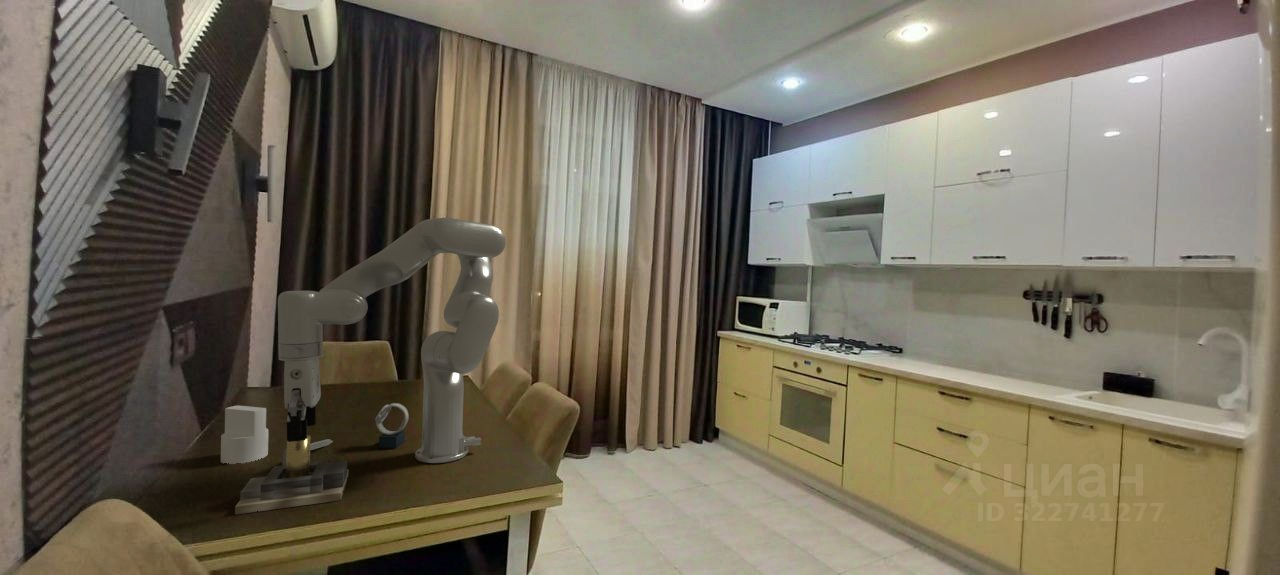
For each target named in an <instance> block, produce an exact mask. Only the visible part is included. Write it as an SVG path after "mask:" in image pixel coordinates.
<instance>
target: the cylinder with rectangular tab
mask: <svg viewBox="0 0 1280 575" xmlns="http://www.w3.org/2000/svg"><path fill="white" fill-rule="evenodd" d="M268 454H269V429H268V428H267V407H256V406H247V405H233V406H229V407H225V409H224V433H222V434H221V435H220V463H222V464H224V463H227V464H226V465H237V464H236V463H241V464H245V463H246V462H247V463H251V461H252V462H255V460H256V461H258V459H259V460H262V459H264V458H266V457H267V456H268ZM261 458H262V459H261ZM228 463H229V464H228ZM247 463H246V464H247Z"/></svg>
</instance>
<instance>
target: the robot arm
mask: <svg viewBox="0 0 1280 575" xmlns="http://www.w3.org/2000/svg"><path fill="white" fill-rule="evenodd" d="M506 240H507V239H506V236H505V233H504V232H503V231H502V230H501V229H500V227H497V226H496V225H493V224H489V223H483V222H476V221H471V220H465V219H460V218H454V217H453V218H451V217H437V218H429V219H428V218H427V219H424V220H423V221H420V222H418V223H417V224H416V225H414V226H413V227H412V228H410V229H409V230H407V231H406V232H405V233H404V234H402V235H401V236H400V237H398V238H397V239H396V240H394V241H393V242H392V243H390V244H389V245H388V246H386V247H384V248H383V249H381V250H380V251H379V252H377V253H376V254H373V255H372V256H370V257H368V258H367V259H365V260H363V261H361V262H360V263H358V264H356V265H355V266H352V267H351V268H350V269H348V270H346V271H345V272H343V273H342V274H340V275H339V276H337V278H335V279H333V280H332V281H331V282H329V283H328V284H327V285H325V286H324V287H323V288H321V289H320V290H319V291H315V290H287V291H286V290H285V291H283V292H281V293H280V294H279V295H278V297H277V321H278V322H277V323H278V324H277V326H278V327H277V333H278V336H277V338H278V341H277V342H278V349H277V350H278V360H279V361H283V362H284V371H283V372H284V374H283V378H284V379H283V383H284V384H283V390H284V391H283V392H284V393H283V396H284V398H283V399H284V401H283V402H284V409H286V410H288V411H287V416H286V417H287V418H286V442H287V441H288V442H292V441H301V440H306V438H307V435H308V428H307V427H312V426H315V425H316V423H317V419H316V418H317V414H316V410H317V409H316V405H317V404H318V402H319V401H320V399H321V396H322V391H321V390H322V389H321V387H322V386H321V373H320V370H321V369H320V360H319V359H320V358H323V356H324V346H323V345H324V339H323V338H324V337H323V334H324V332H323V331H324V330H323V329H324V328H323V327H324V326H323V325H326V324H327V325H345V326H346V325H351V324H356V323H357V322H359V321H361V320H362V319H363V318H364V317H365V316H366V314H367V312H368V308H369V307H368V302H367V299H366V298H367V297H369V296H370V295H372V294H374V293H375V292H378V291H379V290H383V289H384V288H387V287H391V286H394V285H398V284H400V283H402V282H404V281H406V280H408V279H410V278H411V277H412V276H413V275H414V274H416V273H417V272H418V271H419V270H420V269H421V268H423V267H424V266H425V265H427V264H428V263H429V262H430V261H431V260H433V259H435V257H436V256H438V255H439V254H455V255H457V258H458V259H459V263H460V272H459V275H458V277H457V280H456V283H455V286H454V287H453V289H452V292H451V294H450V296H449V297H448V300H447V302H446V304H445V307H444V309H443V320H444V321H445V323H446V324H447V325H449V326H450V327H452V328H455V329H456V330H455V332H454V331H450V330H449V331H448V330H440V331H439V330H438V331H434V332H433V333H431V334H429V335H428V336H427V337H426V338H425V340H424V341H423V343H422V345H421V350H420V358H421V364H422V372H423V394H422V396H423V398H422V402H423V403H422V433H421V435H422V436H421V447H419V448H418V449H416V450H415V452H414V458H415V459H416V460H417V461H419V462H421V463H427V464H442V463H443V464H444V463H449V462H455V461H457V460H460V459H462V458H464V457H466V455H468V453H469V446H470V447H471V446H481V445H482V438H481V437H476V436H475V435H473V436H471V435H470V436H465V435H464V431H463V419H464V418H463V417H464V413H463V412H464V390H465V387H464V386H465V385H464V382H465V381H464V374H465V375H466V374H469V373H471V372H473V371H475V369H477V368H478V367H479V365H480V364H481V362H482V361H483V359H484V357H485V354H486V352H487V350H488V347H489V345H490V343H491V340H492V338H493V336H494V333H495V331H496V328H497V326H498V323H499V320H500V311H499V306H498V304H497V302H496V300H494V299H493V298H492V297H491V296H489V292H490V289H491V287H492V283H493V279H494V271H493V270H494V269H493V266H492V262H491V259H492V258H496V257H498V256H500V255H501V254H502V253H503V252H504V250H505V249H506V243H507V241H506Z"/></svg>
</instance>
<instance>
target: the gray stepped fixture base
mask: <svg viewBox="0 0 1280 575" xmlns="http://www.w3.org/2000/svg"><path fill="white" fill-rule="evenodd" d="M349 472H350V471H349V469H348V460H342V461H335V462H331V461H330V460H321V461H310V475H309V476H302V477H293V478H286V465H283V464H281V465H275V466H274V465H273V467H272V469H271V470H270V471H269V472H268V474H267V476H261V477H252V478H250V479H249V481H248V482H247V483H246V484H245V485H244V487H243V489H241V491H240V499H239V501H238V502H237V504H235V506H234V516H235V515H243V514H249V513H258V512H264V511H265V512H266V511H272V510H279V509H287V508H294V507H302V506H307V505H309V506H310V505H316V504H317V505H318V504H322V503H329V502H338V501H341V500H342V497H343V494H344V492H343V491H345V488H346V485H347V481H348V479H347V478H349ZM257 511H258V512H257Z"/></svg>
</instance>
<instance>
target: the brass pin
mask: <svg viewBox="0 0 1280 575" xmlns="http://www.w3.org/2000/svg"><path fill="white" fill-rule="evenodd" d="M310 444H311V435H309V434H307V438H306V440H301V441H292V442H288V441H287V440H286V445H287V457H286V478H293V477H302V476H309V475H310V462H311V450H310Z"/></svg>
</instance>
